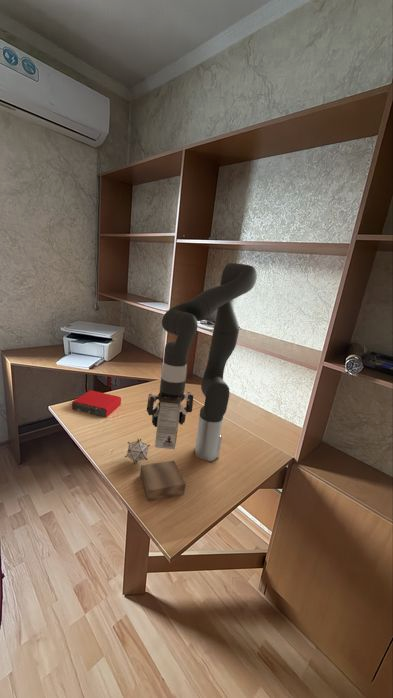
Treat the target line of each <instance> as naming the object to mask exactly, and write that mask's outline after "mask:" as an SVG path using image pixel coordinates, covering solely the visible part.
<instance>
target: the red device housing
mask: <svg viewBox="0 0 393 698" xmlns="http://www.w3.org/2000/svg"><path fill="white" fill-rule="evenodd" d="M121 405H122V397H121V396H119V395H113V394H109V393H105V392H100V391H96V390H88V391H86V392H85V393H84V394H82V395H80V396H79V397H77V398H76V399H74V400H73V401H71V410H72V409H73V410H75V409H76V411H79V410H80V412H83V413H87V414H91V415H96V416H98V417H99V416H100V417H103V418H104V417H105V418H104V419H107V418H108V417H109V416H110V415H111V414H113V412H114V411H116V410H117V409H118V408H119V407H120V406H121Z"/></svg>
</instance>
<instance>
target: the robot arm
mask: <svg viewBox="0 0 393 698" xmlns="http://www.w3.org/2000/svg"><path fill="white" fill-rule="evenodd" d="M257 280H258V273H257V270H256V267H254V266H253V265H250V264H245V263H240V262H239V263H238V262H228V263H226V265H225V266H224V267H223V270H222V273H221V277H220V285H218V286H214V287H210V288H208V289H206V290H204V291H202V292H200V293H199V294H198V295H196V296H195V297H193V298H192V299H191V300H189V301H185V302H184V303H180V304H178V305H175V306H173V307H171V308H170V309H168V310H167V311H166V312H165V313H164V314H163V316H162V319H161V327H162V328H163V329H164V331H165V332H167V333H168V334H172V335H175V336H177V337H176V339H175V341H169V342H167V343H166V344H165V347H164V353H163V354H164V355H163V362H162V366H161V367H162V368H161V375H160V382H159V383H160V384H159V393H158V394H153V393H149V394H148V396H147V397H148V398H147V405H146V412H147V414H148V415H149V416H151V423H152V425H153V426H154V428H157V421H158V411H159V401H160V397H170V396H182V399H181V407H180V416H179V425H181V426H182V425H184V424H185V422H186V415H187V413H192V411H193V406H194V405H193V404H194V394H193V393H192V392H191V391H188V392H187V393H185V390H186V389H185V388H186V381H187V375H188V374H187V373H188V358H189V351H190V349H191V346H192V344H193V341H194V339H195V337H196V334H197V331H198V322H201V321H202V322H203V321H204V320H205V319H206V318H208V317H209V316H211V315H212V314H213V313H215V311H216V315H215V322H214V324H213V325H214V326H213V331H212V334H211V342H210V346H209V352H208V359H207V364H206V367H205V370H204V373H203V376H202V380H201V383H200V388H201V389H200V390H201V392H202V394H203V395H204V397H205V400H204V403H203V404H204V405H203V406H202V407H200V410H199V416H198V423H197V429H196V430H197V431H196V439H195V443H194V444H195V445H194V454H195V456H196V457H197V458H199V459H201V460H203V461H208V462H213V461H215V460H216V459H218V458H219V457H220V451H221V445H222V439H223V436H222V435H221V433H222V426H223V420H224V416H225V414H226V412H227V408H228V404H229V400H230V387H229V385H228V384H227V383H226V381H225V380H224V372H225V367H226V364H227V361H228V360H229V358H230V356H232V354H233V352H234V350H235V348H236V345H237V342H238V338H239V332H240V325H239V321H238V318H237V315H236V312H235V309H234V300H235V299H237V298H239V297H240V296H242V295H245V294H247V293H248V292H250V291H251V290H252V289H253V288H254V287H255V285H256V283H257ZM157 400H158V402H157V403H156V401H157ZM184 400H186V404H185V407H184V406H183V405H182V402H183V401H184ZM155 403H156V406H155V407H154V404H155Z"/></svg>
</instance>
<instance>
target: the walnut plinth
mask: <svg viewBox="0 0 393 698" xmlns="http://www.w3.org/2000/svg"><path fill="white" fill-rule="evenodd" d="M139 476H140V479H141V483H142V486H143V489H144V492H145V496H146V499H147V502H150V501H156V500H161V499H167V498H172V497H173V498H174V497H176V496H183V495H185V492H186V482H185V480H184V478H183V476H182V474H181V472H180V469H179V468H178V466H177V463H176V461H175V460H169V461H162V462H156V463H154V462H153V463H149V464H142V465H141V464H140V475H139Z"/></svg>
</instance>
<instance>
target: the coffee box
mask: <svg viewBox="0 0 393 698" xmlns="http://www.w3.org/2000/svg"><path fill="white" fill-rule="evenodd" d="M181 399H182V396H170V397H160V401H159V400H158V402H159V411H158V421H157V427H156V431H155V432H156V434H155V443H154V447H155V448H157V449H167V450H175V449H176V444H177V438H178V430H179V425H180V423H179V416H180V412H181V410H180V407H181V404H182V402H181Z"/></svg>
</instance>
